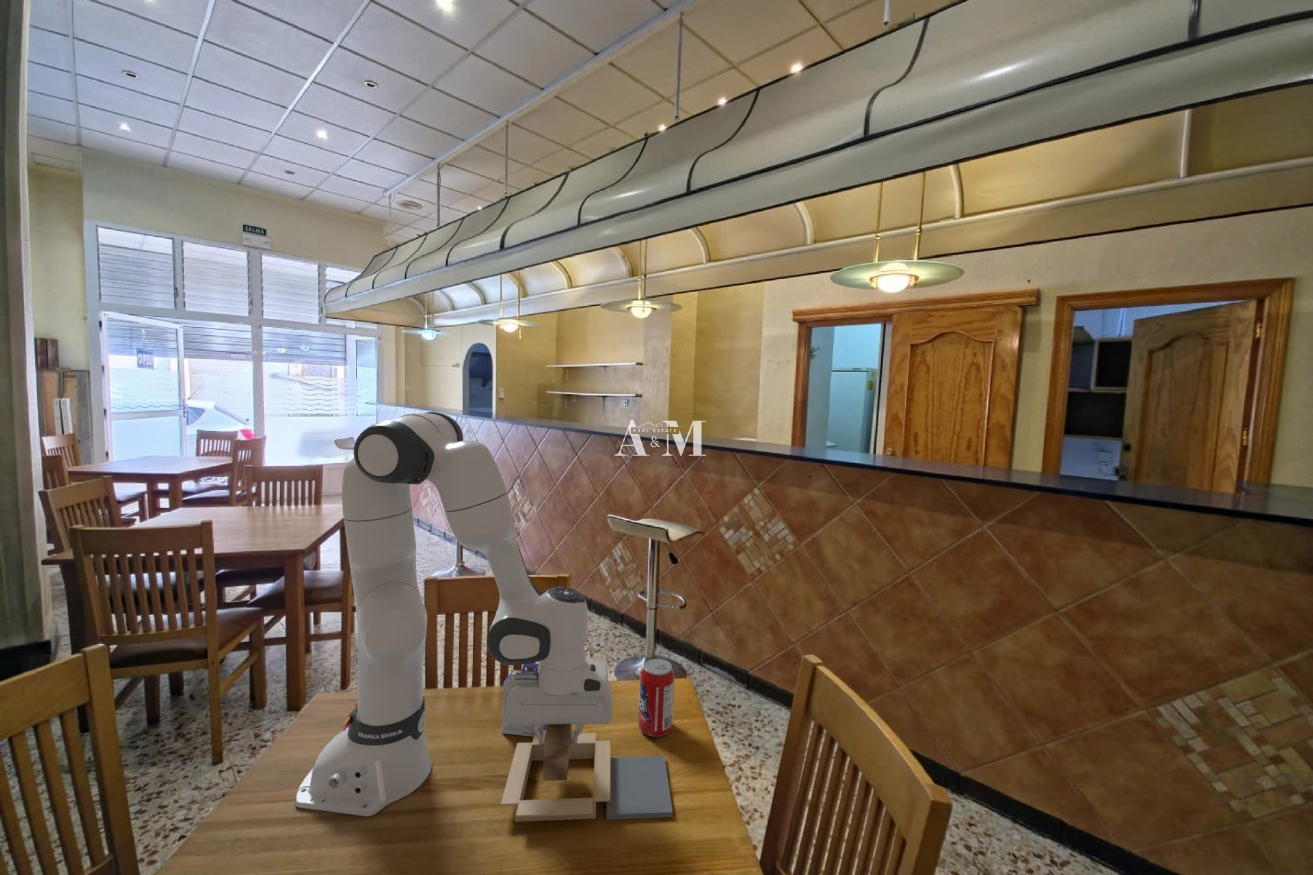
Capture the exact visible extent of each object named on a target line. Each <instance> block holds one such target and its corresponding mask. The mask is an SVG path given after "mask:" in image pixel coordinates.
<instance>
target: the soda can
mask: <svg viewBox="0 0 1313 875" xmlns="http://www.w3.org/2000/svg"><path fill="white" fill-rule="evenodd" d="M639 674H640V677H639V700H638V701H639V702H638V728H639V729H640V731H641V732H642V733H643V734H645V735H646V736H650V737H653V738H654V737H663V736H666V735H668V733H669V732H671V730H672V728H673V722H674V700H675V699H674V696H675V695H674V694H675V676H676V674H675V671H674V669H673V666H672V663H670V661H667V660H666V659H664V658H663V659H662V658H652V659H649V660H646V662H644V663H643V667H642V668H641V670H640V672H639Z"/></svg>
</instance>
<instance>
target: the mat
mask: <svg viewBox="0 0 1313 875" xmlns="http://www.w3.org/2000/svg"><path fill="white" fill-rule="evenodd" d="M605 806H606V807H605V810H606V811H605V812H606V814H605V820H606V821H610V820H611V821H612V820H636V819H639V820H641V819H659V818H663V819H664V818H673V813H674V811H673V805H672V798H671V792H670V785H669V778H668V771H667V764H666V757H665V755H647V756H646V755H643V756H641V755H640V756H610V801H606V804H605Z"/></svg>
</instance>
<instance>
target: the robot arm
mask: <svg viewBox="0 0 1313 875" xmlns="http://www.w3.org/2000/svg"><path fill="white" fill-rule="evenodd" d="M342 473H343V474H342V475H343V476H342V485H341V486H342V487H341V503H342V504H341V505H342V506H341V507H342V516H343V523H344V532H345V538H346V539H345V540H346V547H347V554H348V561H349V562H348V563H349V567H350V574H351V582H352V588H353V597H354V603H355V604H354V605H355V614H356V615H355V616H356V626H357V627H356V628H357V675H356V677H357V678H356V680H357V682H356V683H357V684H356V685H357V686H356V687H357V702H356V703H355V706H354V707H355V708H354V709H353V710H352V711H350V713H349V715H348V717H347V719H346V720H345V721H344V723H343V725H342V727H343V729H342V731H340V732H338V734H336V735H335V736H334V737H332V739H331V740H329V742H328V743H327V744H326V745H325V747H324V748H323V749H322V750H321V752H320V753H319V755H318V757H317V758H316V761H315V763H314V766H313V767H312V768H311V770H310V771H309V772H308V773H307V774H306V776H305V778H304V779H303V781H302V782H301V783H300V785H299V787H298V789H297V792H296V796H295V807H297V808H301V809H308V810H314V811H315V810H316V811H324V812H331V813H338V814H344V815H345V814H346V815H353V816H361V817H371V816H374V815H376V814H377V813H378V812H380V811H382V810H383V809H384V808H385V807H386V806H388V805H390V804H391V803H394V802H396V801H399V800H400V799H403V798H404V797H406V796H408V795H410V794H411V793H413V792H414V791H416V790H417V789H418V788H419V787H420V786H421V785H422V784H423V783H424V782H425V781H426V780H427V778H428V776H429V775H430V773H431V770H432V765H433V763H432V762H433V761H432V758H431V757H430V753H429V751H428V747H427V742H426V736H425V727H426V721H427V720H426V719H427V718H426V717H427V711H426V700H425V696H424V695H423V693H424V692H423V690H424V689H423V686H424V684H423V681H424V680H423V675H424V674H423V670H424V669H423V666H424V656H425V655H424V654H425V648H426V640H427V629H428V628H427V625H428V614H427V613H428V612H427V609H426V607H425V604H424V602H423V599H422V596H421V592H420V589H419V585H418V576H417V544H416V543H417V542H416V534H415V525H414V524H415V523H414V516H413V514H414V513H413V507H412V499H411V485H420V484H422V483H423V482H425V480H426V481H428V482H430V483H431V484H432V485H434V487H435V489H436V490H437V492H438V495H439V497H440V501H441V504H442V508H443V511H444V515H445V517H446V521H447V523H448V526H449V528H450V530H451V532H452V534H453V536H454V538H455V539H456V541H457V542H458V544H459V545H461V546H463V547H464V548H467V549H469V550H472V551H477V552H481V553H482V554H483V555H484V556H485V558H486V560H487V561H488V564H489V566H490V568H491V572H492V575H493V578H494V580H495V583H496V585H497V588H498V592H499V600H498V606H497V607H498V608H497V611H496V614H495V616H494V619H493V621H492V623H491V625H490V627H489V630H488V632H487V635H486V646H487V650H488V652H489V654H490V655H491V657H492V658H493V659H494V660H496V662H498V663H500V664H503V665H506V666H521V665H522V666H523V664H529V663H531V664H535V663H537V662H538V664H539V665H538V673H515V674H514V675H511V676H510V677H508V676H507V677H508V679H507V680H506V679H505V680H506V687H505V690H506V693H507V695H508V700H507V705H506V711H505V720H506V721H507V723H508V724H534V726H533V729H534V731H535V732H536V734H537V735H538V737H539V744H544V741H545V735H546V730H543V728H542V726H541V724H572V725H576V727H575V729H574V730H573V729H571V731H570V744H577V739H578V736H579V734H580V733H583V732H582V731H583V730H584V728H585V726H584V725H607V724H608V725H609V724H610V723H611V721H612V720H613V696H612V695H613V692H612V687H611V685H612V684H611V683H610V680H609V671H608V666H607V664H605V663H603V662H600V661H597V660H595V659H592V658H588V657H587V654H586V649H585V648H586V647H585V646H586V643H587V640H588V629H589V628H588V625H589V611H588V605H587V601H586V599H585V597H584V596H583V594H582V593H581V592H579V591H577V590H576V589H574V588H571V587H567V586H554V587H550V588H548V589H547V590H546V591H545V592H543V593H542V591H541V590H540V589H539V588H538V587H537V586H536V585H535V583H534V582H533V581H532V579H531V577H530V576H529V572H528V570H527V567H526V563H525V561H524V558H523V555H522V553H521V549H520V546H519V544H518V541H517V536H516V530H515V523H514V516H513V511H512V507H511V506H512V505H511V502H510V498H509V495H508V492H507V488H506V485H505V482H504V479H503V477H502V474H501V472H500V470H499V467H498V465H497V462H496V461H495V459H494V457H493V454H492V453H491V451H490V449H489V448H488V446H487V445H485V444H484V443H482V442H481V441H476V440H464V433H463V430H462V428H461V426H460V425H459V423H458V422H457V421H456V420H455V419H454V418H452V417H451V416H449V415H447V414H445V413H442V412H435V411H427V412H424V413H423V412H421V413H420V412H416V413H408V414H403V415H401V416H399V417H398V416H397V417H395V418H391V419H386V420H385V419H384V420H381V421H378V422H376V423H375V422H374V424H371V425H370V426H367V428H365V429H364V430H363V431H362V432H361V433H360V434H359V435H358V437H357V438H356V440H355V442H354V445H353V458H351V459H350V460H349V461H348V462H347V463H346V464H345V467H344V469H343V472H342ZM513 677H514V678H513Z"/></svg>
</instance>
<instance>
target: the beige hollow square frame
mask: <svg viewBox="0 0 1313 875" xmlns="http://www.w3.org/2000/svg"><path fill="white" fill-rule="evenodd" d="M596 735H597V733H596V732H581V733H580V734H579V736H578V739H577V744H571V746H570V755H569V760H592V759H593V760H594V767H593V769H594V770H593V771H594V772H593V786H592V788H593V790H592V792H593V793H592V797H578V798H576V797H575V798H550V799H549V798H548V799H547V798H546V799H525V800H524V798H525V794H526V788H527V783H528V779H529V777H530V776H529V775H530V771H531V767H532V766H531V765H532V762H533V761H544V744H539V737H538V735H537V734H534V737H533V738H532V739H533V740H532V742H517V743H516V747H515V750H514V754H513V758H512V761H511V765H510V769H509V772H508V777H507V779H506V784H505V787H504V792H503V794H502V799H501V801H500V806H514V807H515V808H514V810H515V812H514V822H515V823H517V822H518V823H519V822H535V821H536V822H543V821H546V822H547V821H565V820H566V821H568V820H587V819H588V820H591V819H594V820H595V819H596V818H597V817H596V816H597V815H596V814H597V812H596V811H597V803H601V802H603V803H604V802H606V801H610V757H611V740H596V739H597V738H596Z"/></svg>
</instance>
